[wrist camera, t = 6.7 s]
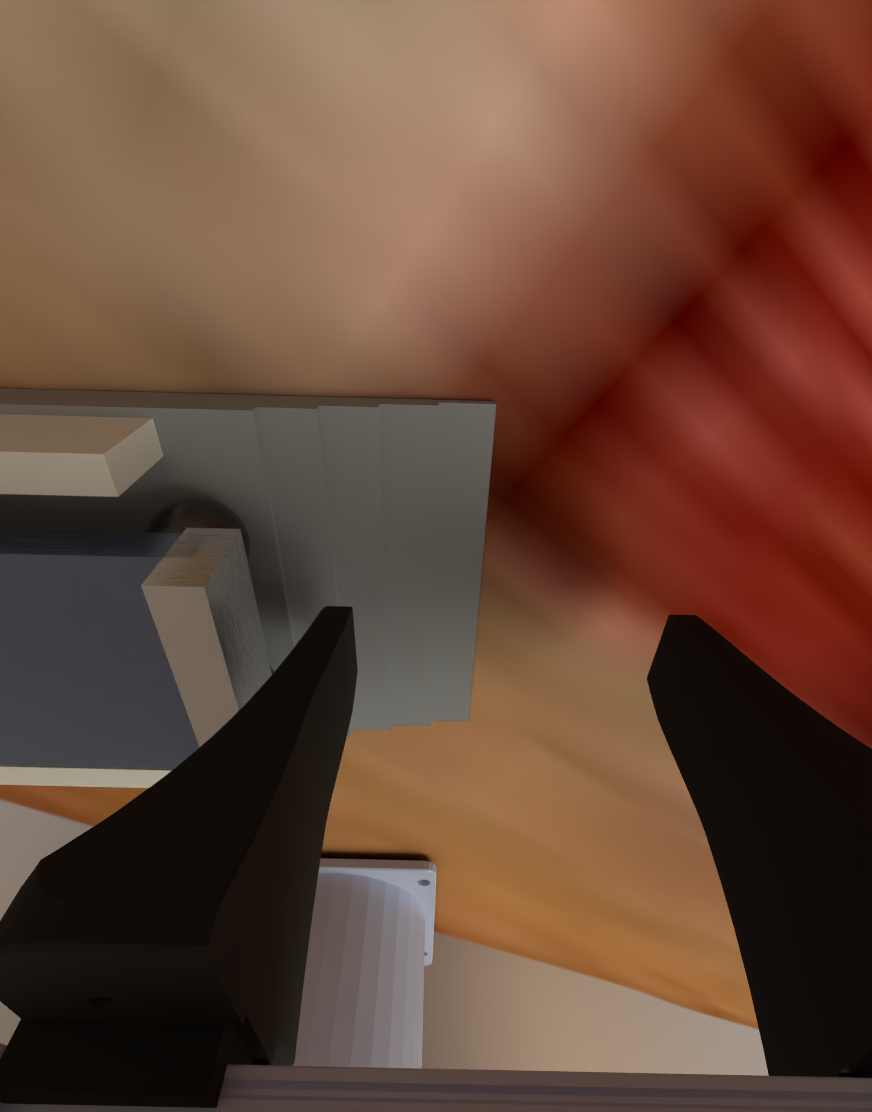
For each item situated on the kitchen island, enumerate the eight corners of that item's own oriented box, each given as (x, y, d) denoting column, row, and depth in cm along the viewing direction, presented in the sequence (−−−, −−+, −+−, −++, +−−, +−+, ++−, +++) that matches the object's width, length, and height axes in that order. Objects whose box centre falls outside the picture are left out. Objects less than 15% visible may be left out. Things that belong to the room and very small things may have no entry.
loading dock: (468, 716, 17) (474, 824, 14) (-34, 704, 17) (-136, 811, 14) (495, 400, 11) (514, 470, 8) (-260, 381, 11) (-511, 444, 8)
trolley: (300, 691, 15) (265, 812, 12) (-18, 684, 15) (-132, 804, 12) (262, 481, 11) (198, 579, 8) (-158, 472, 11) (-371, 567, 8)
